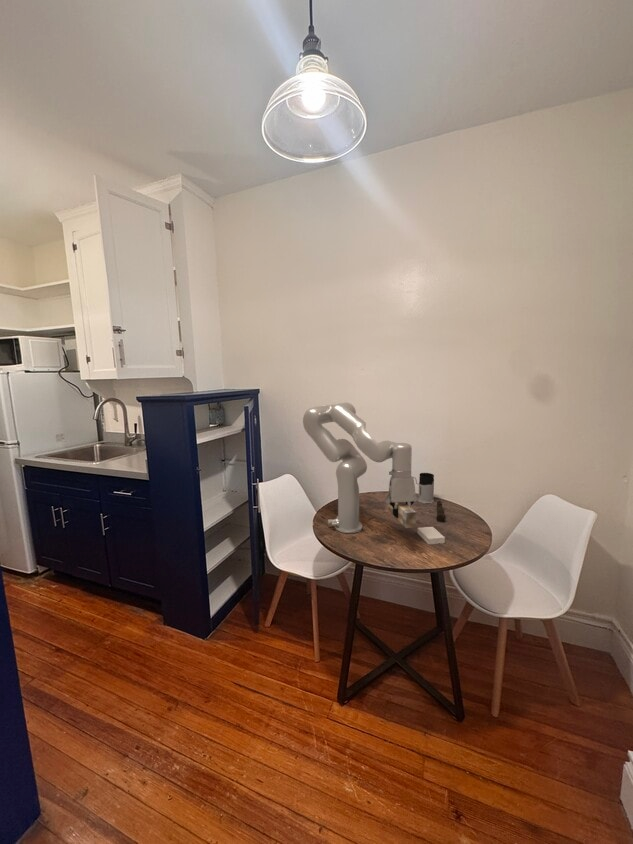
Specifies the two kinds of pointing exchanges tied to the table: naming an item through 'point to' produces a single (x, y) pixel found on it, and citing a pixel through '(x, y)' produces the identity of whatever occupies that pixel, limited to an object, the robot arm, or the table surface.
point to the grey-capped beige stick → (405, 514)
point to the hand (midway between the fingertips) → (401, 516)
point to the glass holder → (426, 488)
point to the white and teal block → (431, 535)
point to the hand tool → (440, 512)
